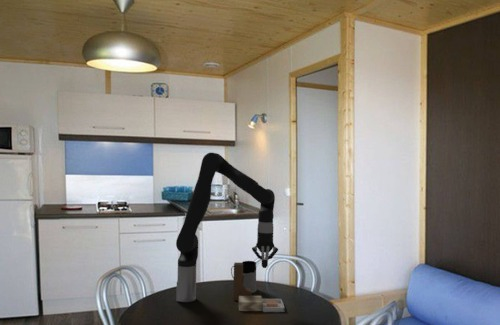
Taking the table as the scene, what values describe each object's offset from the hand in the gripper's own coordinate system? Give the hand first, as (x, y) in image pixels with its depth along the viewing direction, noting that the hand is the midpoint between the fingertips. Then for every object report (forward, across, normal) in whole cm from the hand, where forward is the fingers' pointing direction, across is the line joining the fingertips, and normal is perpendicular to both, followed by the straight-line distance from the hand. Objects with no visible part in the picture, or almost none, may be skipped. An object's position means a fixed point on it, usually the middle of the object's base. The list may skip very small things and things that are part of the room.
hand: (264, 267), depth 183 cm
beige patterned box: (+19, -6, 0) cm, 20 cm away
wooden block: (+19, -10, +11) cm, 24 cm away
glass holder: (+19, -9, +25) cm, 33 cm away
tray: (+19, +4, 0) cm, 19 cm away
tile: (+16, +4, 0) cm, 17 cm away
